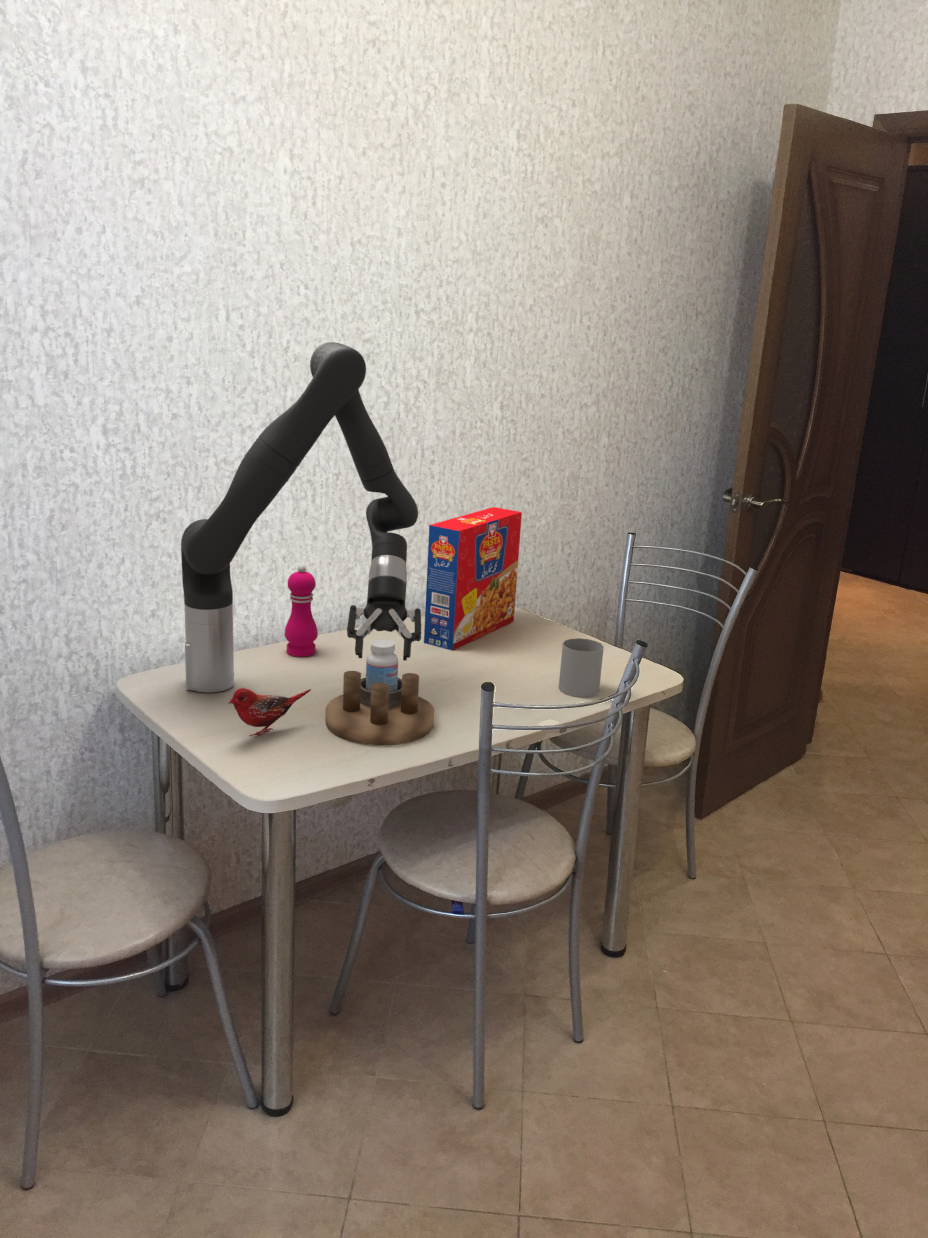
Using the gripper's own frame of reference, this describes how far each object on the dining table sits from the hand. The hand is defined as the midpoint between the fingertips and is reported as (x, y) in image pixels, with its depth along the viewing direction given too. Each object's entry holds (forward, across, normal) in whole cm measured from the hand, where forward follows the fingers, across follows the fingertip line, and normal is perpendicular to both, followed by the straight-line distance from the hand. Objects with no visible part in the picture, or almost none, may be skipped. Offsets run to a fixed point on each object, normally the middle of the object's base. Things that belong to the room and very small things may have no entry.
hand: (382, 657), depth 194 cm
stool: (+12, 0, +4) cm, 12 cm away
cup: (-3, +41, +18) cm, 45 cm away
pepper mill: (-14, -19, +29) cm, 38 cm away
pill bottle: (+6, 0, +6) cm, 8 cm away
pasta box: (-27, +19, +43) cm, 54 cm away
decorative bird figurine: (+16, -19, -1) cm, 25 cm away
